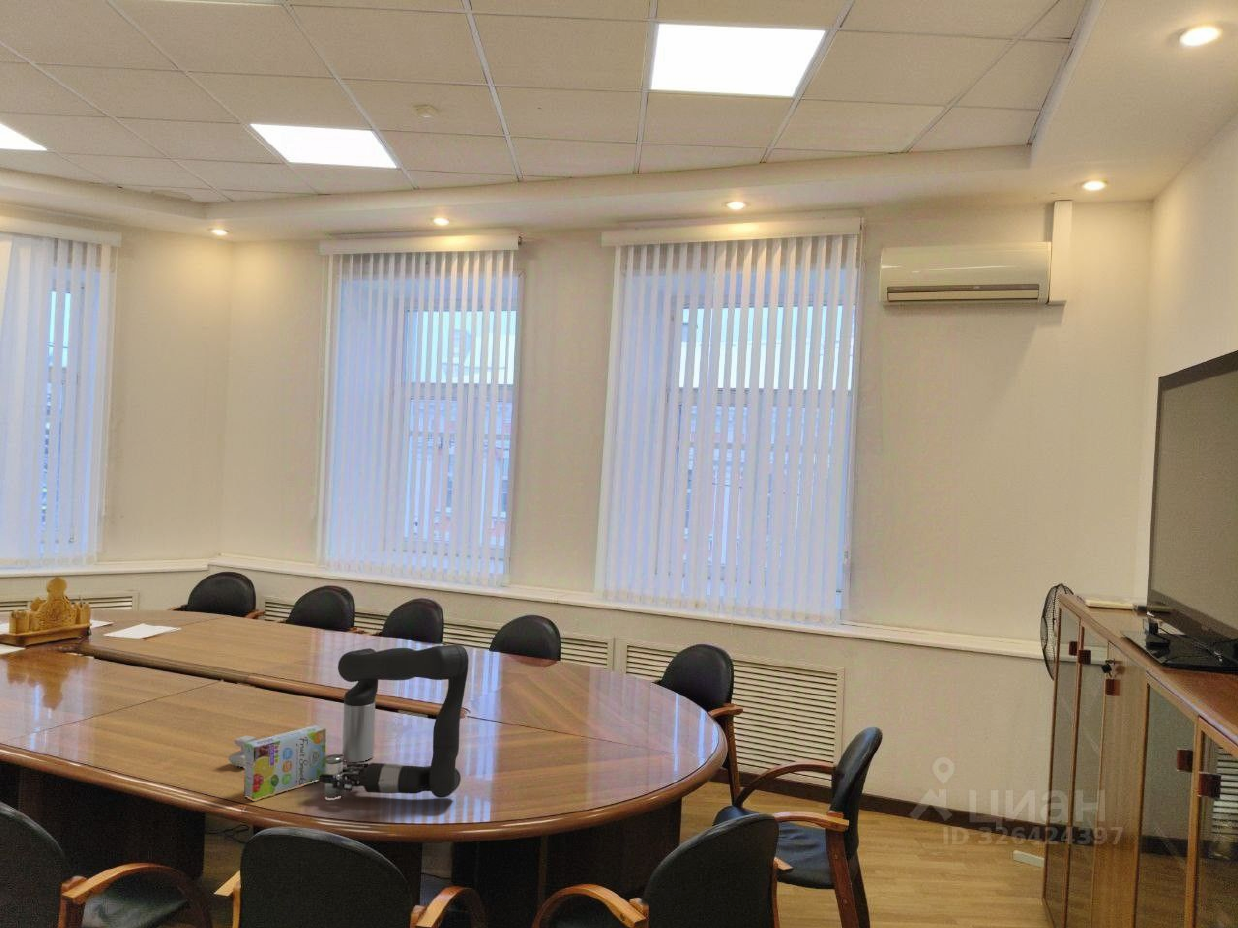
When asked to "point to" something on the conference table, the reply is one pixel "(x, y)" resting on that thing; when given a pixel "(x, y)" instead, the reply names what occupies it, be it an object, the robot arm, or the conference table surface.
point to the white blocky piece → (239, 757)
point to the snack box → (284, 761)
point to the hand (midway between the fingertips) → (324, 774)
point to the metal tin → (333, 773)
